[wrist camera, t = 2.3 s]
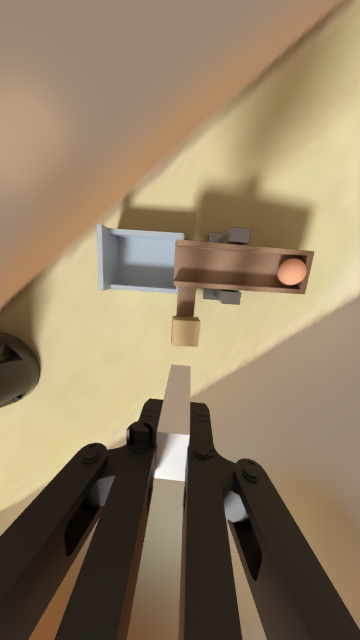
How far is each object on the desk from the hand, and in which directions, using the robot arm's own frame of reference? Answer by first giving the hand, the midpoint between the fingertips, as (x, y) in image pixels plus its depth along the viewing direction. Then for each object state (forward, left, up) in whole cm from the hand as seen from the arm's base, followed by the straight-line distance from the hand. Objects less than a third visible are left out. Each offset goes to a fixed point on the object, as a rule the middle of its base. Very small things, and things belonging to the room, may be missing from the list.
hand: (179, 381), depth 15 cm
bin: (-7, +9, -22) cm, 25 cm away
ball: (+13, +9, -15) cm, 22 cm away
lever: (+7, +5, -16) cm, 18 cm away
